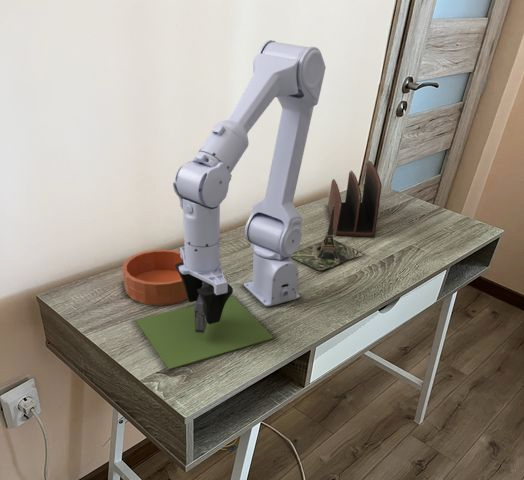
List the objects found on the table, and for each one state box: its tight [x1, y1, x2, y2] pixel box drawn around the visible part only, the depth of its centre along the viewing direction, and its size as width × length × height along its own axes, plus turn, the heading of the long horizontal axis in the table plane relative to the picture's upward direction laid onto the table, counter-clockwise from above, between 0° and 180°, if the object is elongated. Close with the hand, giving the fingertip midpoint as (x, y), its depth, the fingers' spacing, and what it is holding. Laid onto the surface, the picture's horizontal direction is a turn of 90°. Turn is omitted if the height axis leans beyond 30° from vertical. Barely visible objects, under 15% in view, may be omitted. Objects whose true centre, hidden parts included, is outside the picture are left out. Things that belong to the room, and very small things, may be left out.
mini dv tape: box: [194, 281, 209, 333], centre depth 93 cm, size 8×2×6 cm, turn 175°
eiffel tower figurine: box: [291, 205, 364, 271], centre depth 118 cm, size 15×10×13 cm
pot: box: [122, 249, 188, 306], centre depth 106 cm, size 15×15×5 cm
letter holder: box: [327, 160, 383, 238], centre depth 135 cm, size 10×20×14 cm, turn 179°
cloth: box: [135, 295, 275, 371], centre depth 96 cm, size 16×20×1 cm
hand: (203, 310), depth 94 cm, fingers closed on mini dv tape, 7 cm apart
